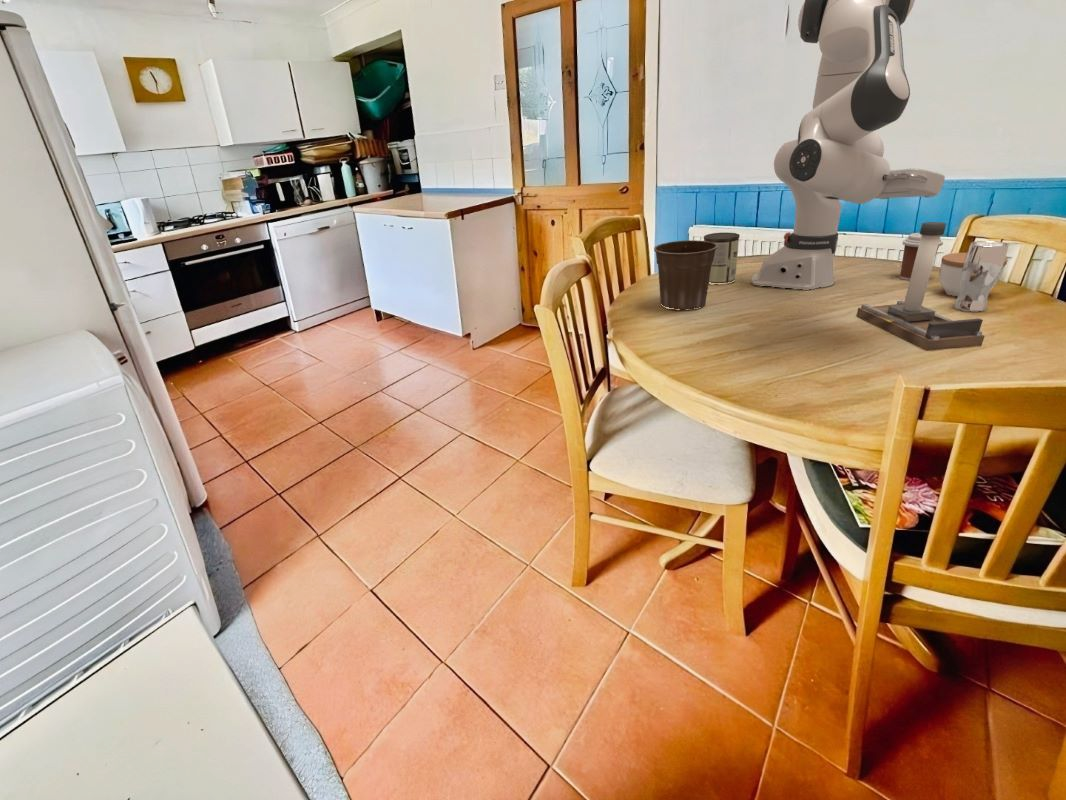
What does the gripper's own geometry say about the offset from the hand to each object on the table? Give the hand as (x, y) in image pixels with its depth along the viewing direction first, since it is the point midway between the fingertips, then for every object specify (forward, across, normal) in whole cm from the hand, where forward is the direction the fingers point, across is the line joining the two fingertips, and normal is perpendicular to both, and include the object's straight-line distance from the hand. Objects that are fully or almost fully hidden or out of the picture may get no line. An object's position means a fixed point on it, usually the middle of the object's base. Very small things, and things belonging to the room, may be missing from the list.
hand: (908, 194), depth 104 cm
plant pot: (-20, +39, +32) cm, 54 cm away
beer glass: (+31, -1, +20) cm, 37 cm away
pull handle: (+10, -3, +24) cm, 26 cm away
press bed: (+10, -4, +26) cm, 29 cm away
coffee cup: (+44, +24, +13) cm, 52 cm away
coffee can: (+2, +54, +24) cm, 59 cm away
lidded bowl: (+40, +7, +16) cm, 44 cm away
